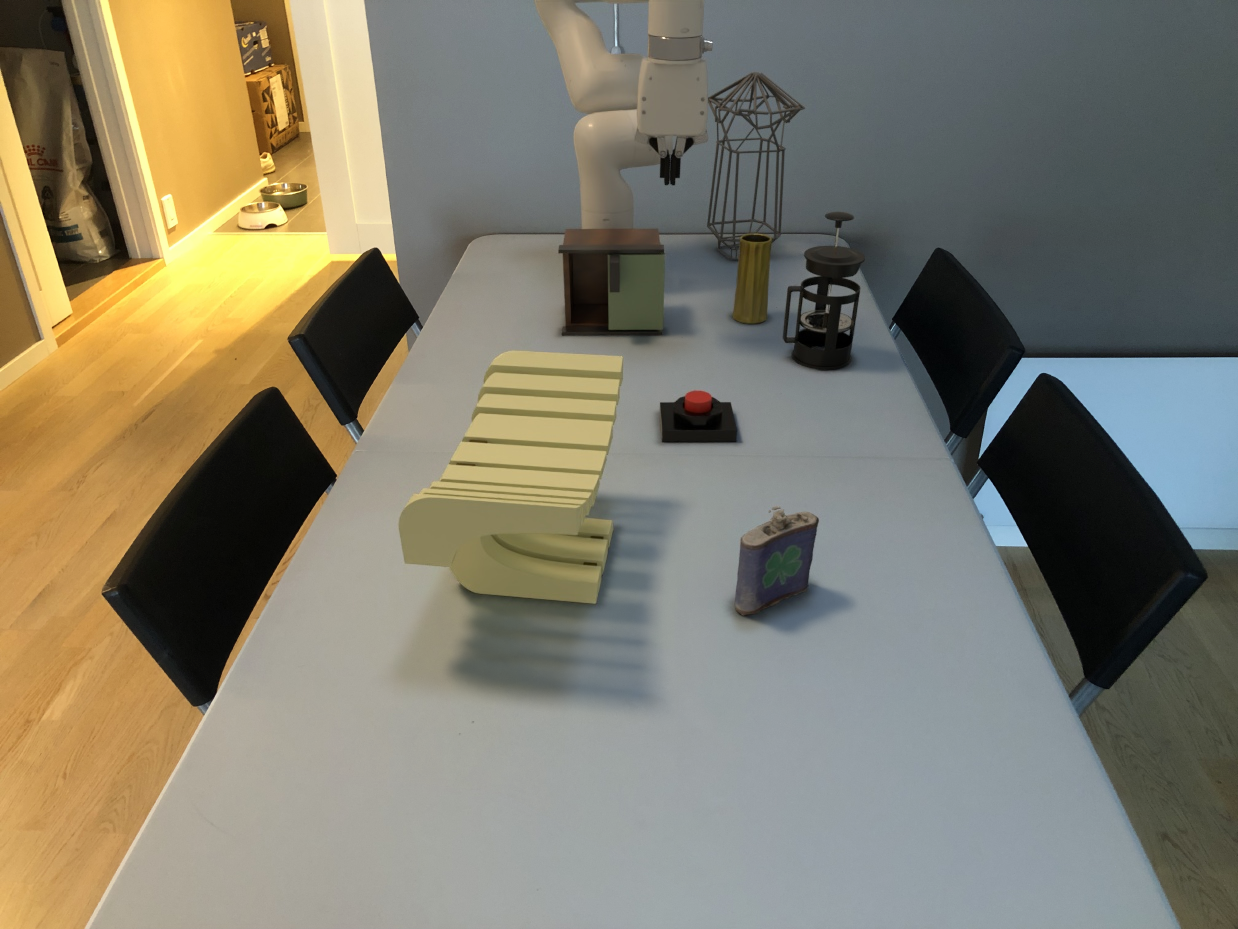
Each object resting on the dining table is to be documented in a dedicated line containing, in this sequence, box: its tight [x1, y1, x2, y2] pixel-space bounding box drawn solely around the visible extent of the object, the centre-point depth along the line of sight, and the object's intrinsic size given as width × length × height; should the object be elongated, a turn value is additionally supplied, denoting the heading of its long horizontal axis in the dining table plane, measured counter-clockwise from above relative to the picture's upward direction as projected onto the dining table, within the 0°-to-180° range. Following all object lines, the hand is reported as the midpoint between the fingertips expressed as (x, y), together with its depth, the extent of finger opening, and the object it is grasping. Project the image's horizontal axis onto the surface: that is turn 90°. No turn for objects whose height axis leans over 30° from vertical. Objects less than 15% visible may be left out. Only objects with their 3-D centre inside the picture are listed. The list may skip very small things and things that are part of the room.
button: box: [684, 390, 713, 413], centre depth 117 cm, size 4×4×2 cm
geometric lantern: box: [706, 71, 806, 261], centre depth 173 cm, size 16×16×35 cm
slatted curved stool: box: [398, 350, 624, 605], centre depth 90 cm, size 30×16×18 cm, turn 172°
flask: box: [733, 505, 820, 616], centre depth 87 cm, size 9×3×11 cm, turn 121°
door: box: [608, 252, 666, 331], centre depth 141 cm, size 9×4×13 cm, turn 90°
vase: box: [731, 232, 773, 325], centre depth 149 cm, size 6×6×14 cm
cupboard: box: [557, 228, 665, 336], centre depth 148 cm, size 17×13×15 cm
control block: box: [659, 395, 738, 443], centre depth 118 cm, size 10×8×4 cm
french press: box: [782, 211, 866, 371], centre depth 132 cm, size 12×9×23 cm
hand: (669, 182), depth 130 cm, fingers closed
